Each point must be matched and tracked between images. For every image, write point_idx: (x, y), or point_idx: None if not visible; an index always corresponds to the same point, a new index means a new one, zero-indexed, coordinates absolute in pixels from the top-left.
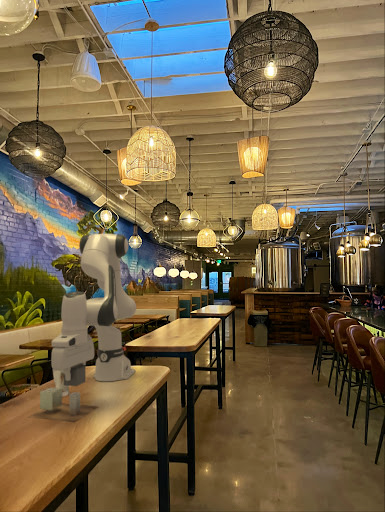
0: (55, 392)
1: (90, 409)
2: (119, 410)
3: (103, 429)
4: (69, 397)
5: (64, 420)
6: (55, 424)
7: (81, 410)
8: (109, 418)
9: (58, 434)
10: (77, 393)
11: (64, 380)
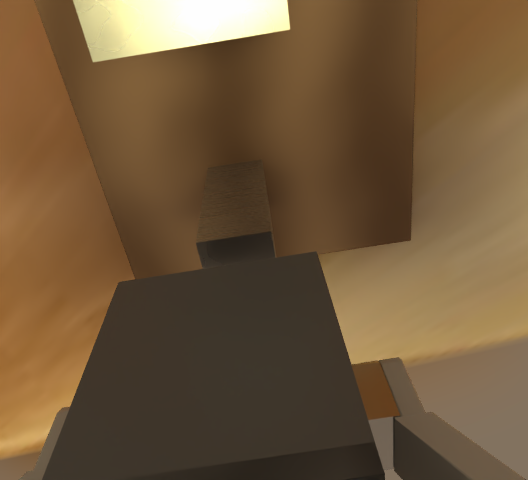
0: (159, 49)
1: (346, 223)
2: (416, 332)
3: None
4: (198, 228)
5: (119, 212)
6: (82, 159)
7: (310, 182)
8: None
9: (9, 280)
10: None
11: (104, 334)
